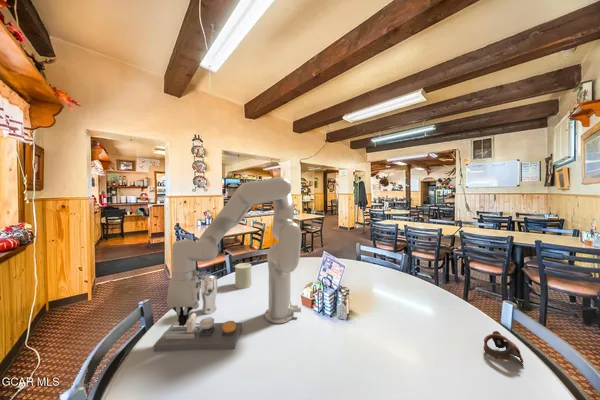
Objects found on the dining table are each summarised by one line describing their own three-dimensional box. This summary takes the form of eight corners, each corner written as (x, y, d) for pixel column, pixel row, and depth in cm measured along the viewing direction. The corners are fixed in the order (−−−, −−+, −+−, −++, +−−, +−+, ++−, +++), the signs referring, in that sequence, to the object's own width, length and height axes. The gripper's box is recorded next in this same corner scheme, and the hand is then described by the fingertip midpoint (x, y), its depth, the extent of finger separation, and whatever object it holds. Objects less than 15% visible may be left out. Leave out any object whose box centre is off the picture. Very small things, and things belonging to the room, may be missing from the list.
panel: (242, 327, 88) (242, 319, 88) (234, 348, 76) (234, 339, 76) (172, 328, 87) (172, 320, 87) (154, 350, 75) (153, 341, 75)
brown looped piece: (533, 375, 67) (521, 353, 66) (496, 376, 71) (485, 356, 71) (513, 341, 78) (503, 322, 77) (482, 344, 82) (472, 326, 81)
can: (255, 284, 128) (255, 264, 128) (243, 290, 121) (242, 268, 120) (243, 280, 133) (243, 261, 133) (231, 286, 125) (231, 265, 125)
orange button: (237, 327, 85) (237, 320, 84) (234, 335, 80) (234, 328, 80) (224, 327, 84) (224, 320, 84) (220, 335, 80) (220, 328, 79)
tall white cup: (211, 315, 96) (211, 281, 96) (197, 313, 98) (197, 280, 97) (220, 307, 103) (220, 275, 102) (207, 305, 105) (206, 274, 104)
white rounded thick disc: (215, 323, 84) (215, 317, 84) (211, 331, 79) (211, 324, 79) (203, 324, 84) (202, 317, 84) (197, 332, 79) (197, 325, 79)
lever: (198, 327, 84) (198, 312, 84) (192, 337, 79) (192, 320, 78) (190, 327, 84) (190, 312, 84) (183, 337, 79) (183, 320, 78)
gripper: (208, 271, 84) (207, 318, 85) (168, 270, 84) (168, 318, 84) (200, 278, 77) (200, 330, 77) (156, 278, 76) (156, 330, 77)
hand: (183, 323), depth 81 cm, fingers closed
